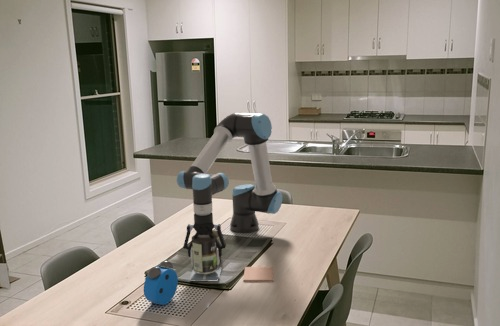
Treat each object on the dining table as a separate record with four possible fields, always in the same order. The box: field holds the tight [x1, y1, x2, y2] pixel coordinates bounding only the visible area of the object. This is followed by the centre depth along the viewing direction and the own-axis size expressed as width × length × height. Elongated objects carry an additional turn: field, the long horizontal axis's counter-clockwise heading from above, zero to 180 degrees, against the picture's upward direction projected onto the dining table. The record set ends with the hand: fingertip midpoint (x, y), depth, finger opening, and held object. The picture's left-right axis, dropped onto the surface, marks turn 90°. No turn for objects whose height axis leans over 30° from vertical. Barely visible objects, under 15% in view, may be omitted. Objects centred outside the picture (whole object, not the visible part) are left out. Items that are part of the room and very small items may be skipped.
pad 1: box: [188, 266, 223, 281], centre depth 193 cm, size 12×12×1 cm
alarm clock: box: [143, 260, 179, 306], centre depth 171 cm, size 13×6×15 cm, turn 152°
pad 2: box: [243, 266, 274, 283], centre depth 192 cm, size 12×12×1 cm
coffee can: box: [191, 234, 219, 274], centre depth 191 cm, size 10×10×14 cm
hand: (205, 263), depth 192 cm, fingers closed on coffee can, 10 cm apart
